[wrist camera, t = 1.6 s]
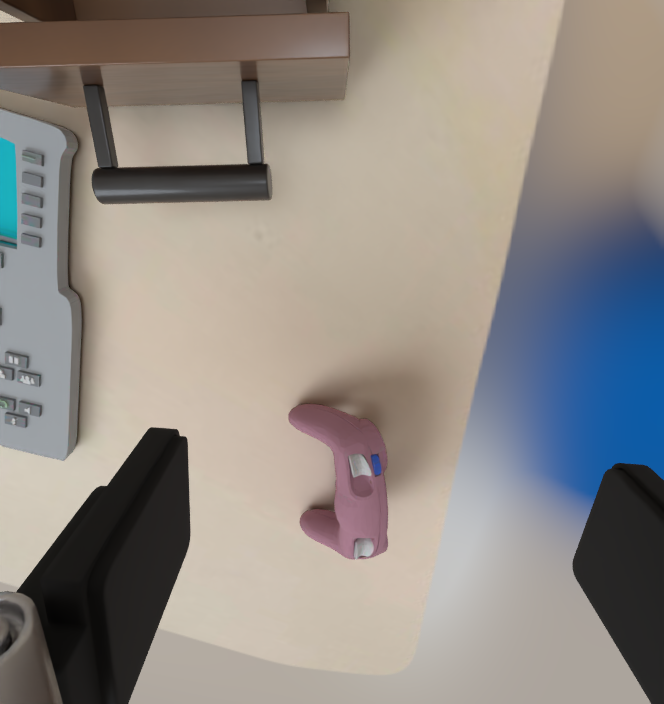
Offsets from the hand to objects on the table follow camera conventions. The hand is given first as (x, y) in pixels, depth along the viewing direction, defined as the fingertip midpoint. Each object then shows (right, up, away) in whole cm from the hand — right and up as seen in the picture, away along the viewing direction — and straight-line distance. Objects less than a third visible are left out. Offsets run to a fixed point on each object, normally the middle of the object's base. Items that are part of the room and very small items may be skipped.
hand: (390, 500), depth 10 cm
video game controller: (-1, -4, +21) cm, 21 cm away
